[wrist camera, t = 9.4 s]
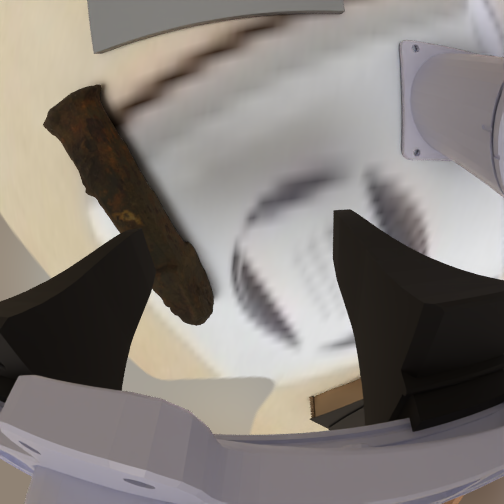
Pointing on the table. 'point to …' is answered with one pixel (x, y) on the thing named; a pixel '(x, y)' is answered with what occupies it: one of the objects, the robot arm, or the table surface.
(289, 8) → the fitting board
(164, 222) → the brown wooden stick
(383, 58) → the table surface
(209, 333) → the table surface
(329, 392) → the dark brown book
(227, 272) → the table surface
